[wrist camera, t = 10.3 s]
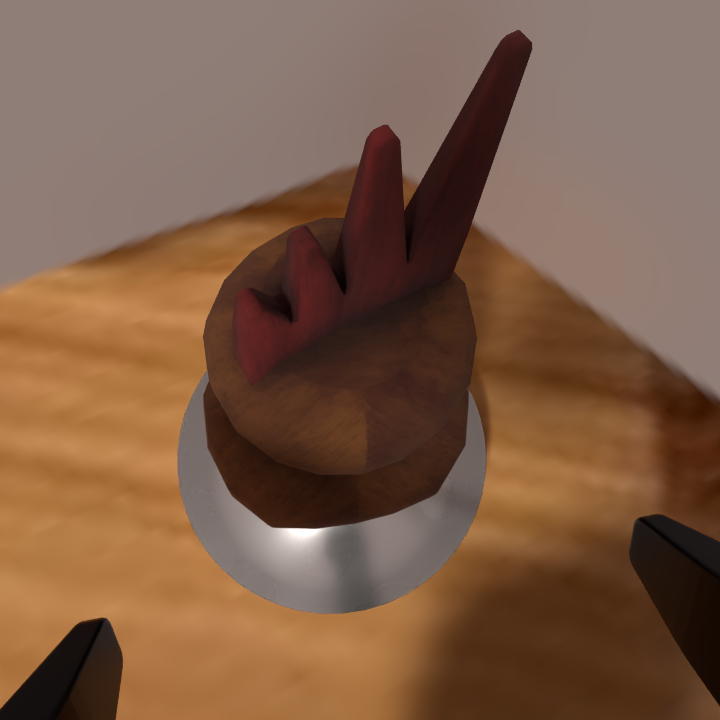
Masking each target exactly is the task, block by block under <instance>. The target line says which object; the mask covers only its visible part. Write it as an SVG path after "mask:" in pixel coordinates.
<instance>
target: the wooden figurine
mask: <svg viewBox="0 0 720 720" xmlns="http://www.w3.org/2000/svg"><path fill="white" fill-rule="evenodd" d="M531 51H532V42H531V41H530V40H529V39H528V38H527V37H526V36H525V35H524V34H523V33H522V32H521V31H520V30H517V31H515V32H513V33H510V34H508V35H506V37H504V38H503V39H502V40H501V42H500V43H499V45H498V46H497V48H496V49H495V51H494V53H493V55H492V56H491V58H490V60H489V62H488V63H487V65H486V67H485V69H484V71H483V73H482V74H481V76H480V78H479V79H478V81H477V83H476V85H475V87H474V89H473V90H472V92H471V94H470V96H469V97H468V99H467V101H466V103H465V104H464V106H463V108H462V110H461V112H460V113H459V115H458V117H457V119H456V120H455V122H454V124H453V126H452V128H451V129H450V131H449V133H448V135H447V137H446V138H445V140H444V142H443V143H442V145H441V147H440V149H439V151H438V152H437V154H436V156H435V158H434V160H433V161H432V163H431V165H430V167H429V168H428V170H427V172H426V174H425V175H424V178H423V179H422V181H421V183H420V184H419V186H418V188H417V190H416V191H415V193H414V195H413V197H412V199H411V200H410V202H409V204H408V206H407V207H406V209H405V211H404V201H403V182H402V164H401V146H400V140H399V138H398V137H397V136H396V135H395V134H394V132H393V131H392V130H391V129H390V127H389V126H388V125H382V126H381V127H378V128H376V129H374V130H373V131H372V132H371V133H370V134H369V136H368V137H367V139H366V142H365V146H364V150H363V153H362V157H361V161H360V164H359V168H358V171H357V175H356V179H355V182H354V186H353V190H352V193H351V197H350V201H349V204H348V208H347V212H346V215H345V218H323V219H319V220H316V221H313V222H309V223H306V224H302V225H299V226H296V227H292V228H290V229H289V230H287V231H285V232H284V233H282V234H280V235H278V236H277V237H275V238H273V239H272V240H270V241H268V242H266V243H265V244H263V245H261V246H260V247H258V248H256V249H255V250H253V251H252V252H251V253H250V254H249V255H248V256H247V257H246V258H245V259H244V260H243V261H242V262H241V263H240V264H239V265H238V266H237V267H236V269H235V270H234V271H233V272H232V273H231V274H230V275H229V276H228V277H227V278H226V279H225V280H224V282H223V284H222V286H221V289H220V291H219V293H218V295H217V297H216V300H215V302H214V304H213V306H212V309H211V311H210V313H209V315H208V317H207V320H206V324H205V329H204V335H203V339H204V347H205V355H206V362H207V370H208V378H209V381H208V384H207V386H206V389H205V392H204V394H203V406H204V416H205V427H206V437H207V448H208V450H209V452H210V454H211V456H212V458H213V460H214V462H215V464H216V466H217V468H218V470H219V472H220V474H221V476H222V478H223V480H224V482H225V485H226V487H227V489H228V490H229V492H230V494H231V495H232V497H233V498H235V499H236V500H237V501H238V502H240V503H241V504H242V505H243V506H245V507H246V508H247V509H248V510H250V511H251V512H252V513H253V514H255V515H256V516H257V517H258V518H260V519H261V520H262V521H263V522H265V523H266V524H267V525H268V526H270V527H272V528H292V529H320V528H328V527H335V526H342V525H350V524H356V523H360V522H364V521H368V520H372V519H376V518H379V517H383V516H387V515H391V514H394V513H396V512H399V511H401V510H403V509H405V508H408V507H410V506H412V505H414V504H417V503H419V502H421V501H423V500H426V499H428V498H430V497H432V496H433V495H435V494H437V493H438V491H439V490H440V488H441V486H442V485H443V483H444V481H445V480H446V478H447V476H448V474H449V473H450V471H451V469H452V468H453V466H454V464H455V463H456V461H457V459H458V457H459V456H460V454H461V452H462V451H463V449H464V447H465V445H466V433H467V419H468V406H469V391H468V386H469V384H470V380H471V374H472V367H473V360H474V353H475V346H476V339H477V338H476V331H475V325H474V320H473V316H472V312H471V308H470V303H469V299H468V295H467V291H466V286H465V283H464V282H463V281H462V280H461V279H460V278H459V277H458V275H457V274H456V273H455V272H454V269H455V266H456V263H457V261H458V258H459V256H460V253H461V250H462V248H463V245H464V242H465V240H466V237H467V235H468V232H469V229H470V226H471V223H472V220H473V218H474V215H475V212H476V209H477V206H478V203H479V200H480V198H481V195H482V192H483V189H484V186H485V183H486V180H487V177H488V175H489V171H490V169H491V166H492V163H493V160H494V157H495V154H496V152H497V149H498V146H499V143H500V140H501V137H502V134H503V131H504V128H505V126H506V123H507V120H508V117H509V114H510V111H511V108H512V106H513V103H514V100H515V97H516V94H517V91H518V88H519V86H520V83H521V80H522V77H523V74H524V71H525V68H526V66H527V63H528V60H529V57H530V54H531Z"/></svg>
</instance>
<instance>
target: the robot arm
mask: <svg viewBox="0 0 720 720" xmlns="http://www.w3.org/2000/svg"><path fill="white" fill-rule="evenodd" d="M629 555H630V560H631V563H632V566H633V568H634V570H635V571H636V573H637V575H638V577H639V578H640V580H641V582H642V584H643V585H644V587H645V589H646V591H647V592H648V594H649V596H650V598H651V599H652V601H653V603H654V605H655V606H656V608H657V610H658V612H659V613H660V615H661V617H662V619H663V620H664V622H665V624H666V626H667V627H668V629H669V631H670V633H671V634H672V636H673V638H674V639H675V641H676V643H677V644H678V646H679V648H680V649H681V651H682V652H683V654H684V655H685V657H686V658H687V660H688V661H689V663H690V664H691V666H692V667H693V668H694V670H695V671H696V673H697V674H698V676H699V677H700V678H701V680H702V681H703V683H704V684H705V686H706V687H707V689H708V690H709V691H710V693H711V694H712V696H713V697H714V699H715V700H716V701H717V703H718V704H719V706H720V542H719V541H717V540H715V539H713V538H710V537H708V536H706V535H704V534H702V533H700V532H698V531H696V530H693V529H691V528H689V527H687V526H685V525H683V524H681V523H679V522H677V521H674V520H672V519H670V518H668V517H666V516H664V515H660V514H654V515H649V516H644V517H639V518H637V520H636V521H635V523H634V527H633V533H632V539H631V544H630V550H629ZM122 668H123V656H122V651H121V648H120V646H119V643H118V641H117V638H116V636H115V633H114V631H113V628H112V626H111V623H110V622H109V620H108V619H107V618H97V619H92V620H86V621H82V622H80V623H78V624H77V625H75V626H74V627H73V629H72V630H71V631H70V632H69V633H68V634H67V635H66V636H65V637H64V639H63V640H62V641H61V642H60V643H59V644H58V645H57V646H56V648H55V649H54V650H53V651H52V652H51V653H50V654H49V655H48V656H47V658H46V659H45V660H44V661H43V662H42V663H41V664H40V665H39V666H38V668H37V669H36V670H35V671H34V672H33V673H32V674H31V675H30V677H29V678H28V679H27V680H26V681H25V682H24V683H23V684H22V685H21V687H20V688H19V689H18V690H17V691H16V692H15V693H14V694H13V695H12V697H11V698H10V699H9V700H8V701H7V702H6V703H5V704H4V705H3V707H2V708H1V709H0V720H116V713H117V706H118V698H119V691H120V683H121V676H122Z"/></svg>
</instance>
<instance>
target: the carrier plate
mask: <svg viewBox="0 0 720 720" xmlns="http://www.w3.org/2000/svg"><path fill="white" fill-rule="evenodd" d="M208 381H209V378H208V370H207V372H206V373H205V374H204V376H203V377H202V379H201V381H200V382H199V384H198V386H197V388H196V389H195V391H194V393H193V395H192V397H191V400H190V402H189V405H188V407H187V410H186V412H185V416H184V419H183V423H182V427H181V431H180V437H179V445H178V478H179V485H180V491H181V496H182V499H183V503H184V506H185V510H186V513H187V516H188V518H189V520H190V522H191V525H192V527H193V529H194V531H195V533H196V535H197V537H198V538H199V540H200V541H201V543H202V545H203V546H204V548H205V549H206V551H207V552H208V553H209V555H210V556H211V557H212V558H213V559H214V560H215V562H216V563H217V564H218V565H219V566H220V567H221V569H223V570H224V571H225V572H226V573H227V574H228V575H229V576H231V577H232V578H233V579H234V580H235V581H236V582H237V583H239V584H240V585H242V586H243V587H245V588H247V589H248V590H250V591H251V592H253V593H254V594H256V595H258V596H260V597H262V598H264V599H267V600H269V601H271V602H273V603H275V604H278V605H281V606H285V607H288V608H292V609H295V610H299V611H306V612H313V613H320V614H323V613H349V612H355V611H362V610H367V609H370V608H373V607H377V606H380V605H383V604H386V603H389V602H391V601H393V600H395V599H397V598H399V597H401V596H403V595H406V594H407V593H409V592H410V591H412V590H414V589H415V588H417V587H418V586H420V585H421V584H423V583H424V582H426V581H427V580H428V579H429V578H430V577H431V576H432V575H434V574H435V573H436V572H437V571H438V570H439V569H440V568H441V567H442V566H443V565H444V564H445V563H446V562H447V560H448V559H449V558H450V557H451V556H452V555H453V554H454V552H455V551H456V550H457V548H458V546H459V545H460V543H461V542H462V540H463V539H464V537H465V536H466V534H467V532H468V530H469V528H470V526H471V524H472V522H473V519H474V517H475V515H476V512H477V509H478V506H479V503H480V499H481V496H482V491H483V486H484V480H485V471H486V448H485V437H484V432H483V427H482V423H481V418H480V415H479V412H478V409H477V406H476V404H475V401H474V398H473V396H472V394H471V392H470V390H469V388H468V391H469V406H468V419H467V433H466V445H465V447H464V449H463V451H462V452H461V454H460V456H459V457H458V459H457V461H456V463H455V464H454V466H453V468H452V469H451V471H450V473H449V474H448V476H447V478H446V480H445V481H444V483H443V485H442V486H441V488H440V490H439V491H438V493H437V494H435V495H433V496H432V497H430V498H428V499H426V500H423V501H421V502H419V503H417V504H414V505H412V506H410V507H408V508H405V509H403V510H401V511H399V512H396V513H394V514H391V515H387V516H383V517H379V518H376V519H372V520H368V521H364V522H360V523H356V524H350V525H342V526H335V527H328V528H320V529H292V528H272V527H270V526H268V525H267V524H266V523H265V522H263V521H262V520H261V519H260V518H258V517H257V516H256V515H255V514H253V513H252V512H251V511H250V510H248V509H247V508H246V507H245V506H243V505H242V504H241V503H240V502H238V501H237V500H236V499H235V498H233V497H232V495H231V494H230V492H229V490H228V489H227V487H226V485H225V482H224V480H223V478H222V476H221V474H220V472H219V470H218V468H217V466H216V464H215V462H214V460H213V458H212V456H211V454H210V452H209V450H208V448H207V437H206V427H205V416H204V406H203V394H204V392H205V389H206V386H207V384H208Z"/></svg>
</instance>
